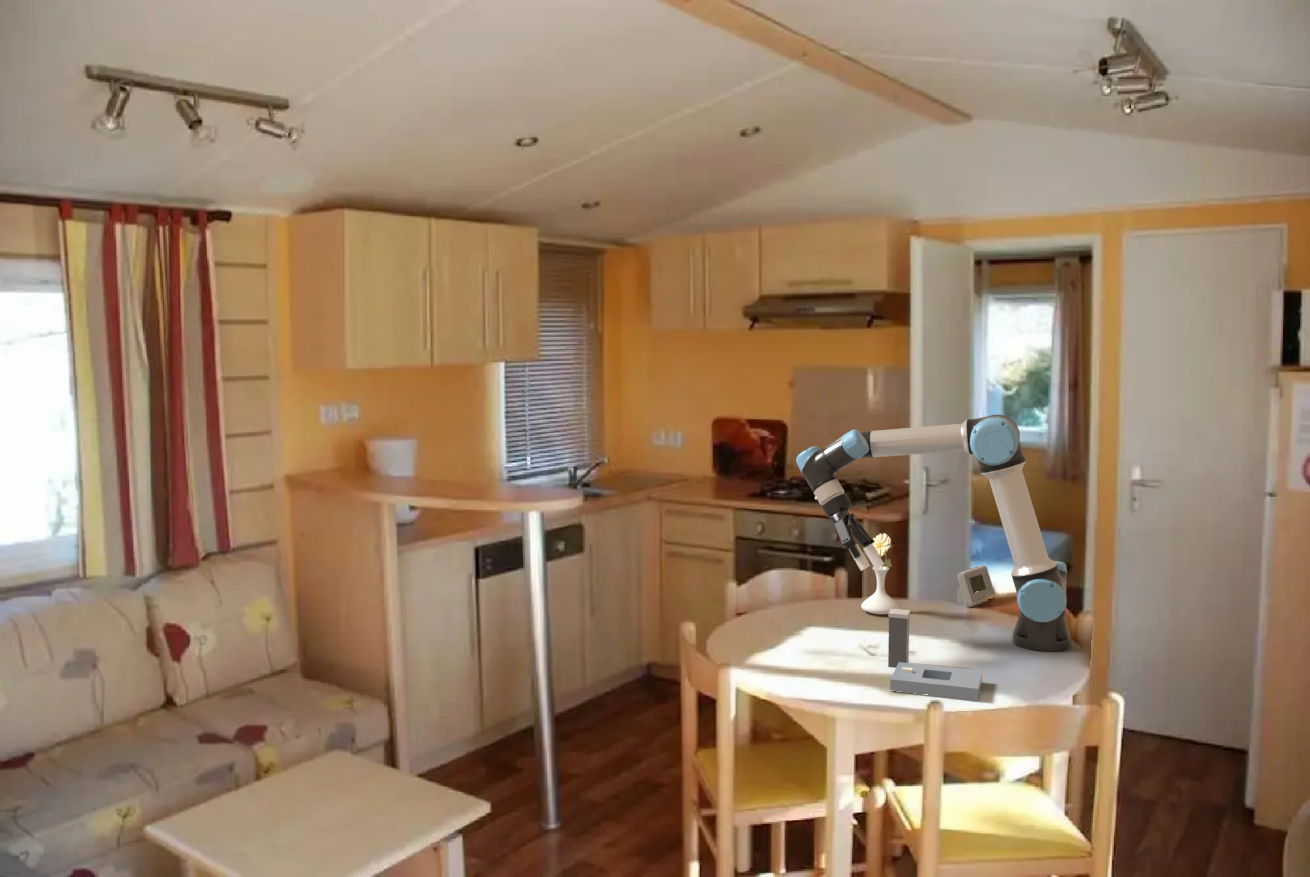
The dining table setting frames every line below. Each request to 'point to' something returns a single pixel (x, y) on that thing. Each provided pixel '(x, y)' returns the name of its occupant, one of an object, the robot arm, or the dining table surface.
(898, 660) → the plug
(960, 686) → the socket plate
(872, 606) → the flower in vase
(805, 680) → the dining table surface
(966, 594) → the digital clock
